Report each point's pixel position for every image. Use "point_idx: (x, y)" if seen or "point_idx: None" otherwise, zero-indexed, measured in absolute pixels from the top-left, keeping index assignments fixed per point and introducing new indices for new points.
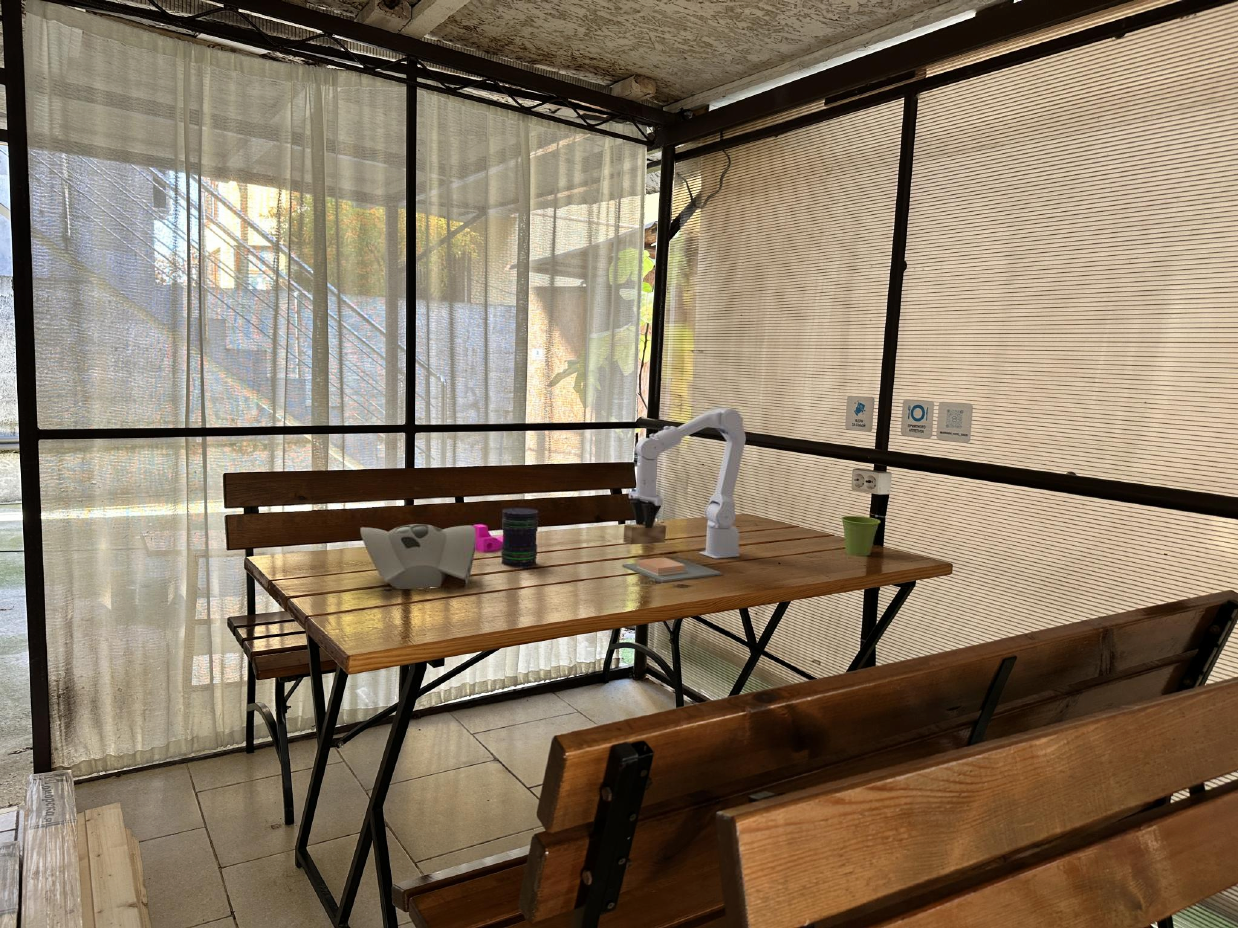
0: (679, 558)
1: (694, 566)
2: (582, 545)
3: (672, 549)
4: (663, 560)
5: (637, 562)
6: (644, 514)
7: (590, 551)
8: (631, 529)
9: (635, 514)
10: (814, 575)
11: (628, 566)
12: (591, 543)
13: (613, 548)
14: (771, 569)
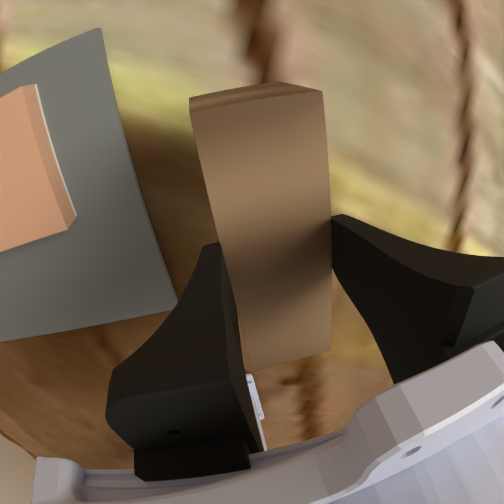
0: (174, 304)
1: (53, 307)
2: (486, 59)
3: (339, 322)
4: (13, 208)
5: (25, 86)
6: (214, 300)
7: (413, 22)
8: (197, 108)
9: (380, 243)
10: (51, 450)
11: (56, 48)
12: (497, 105)
13: (430, 134)
14: (80, 430)
